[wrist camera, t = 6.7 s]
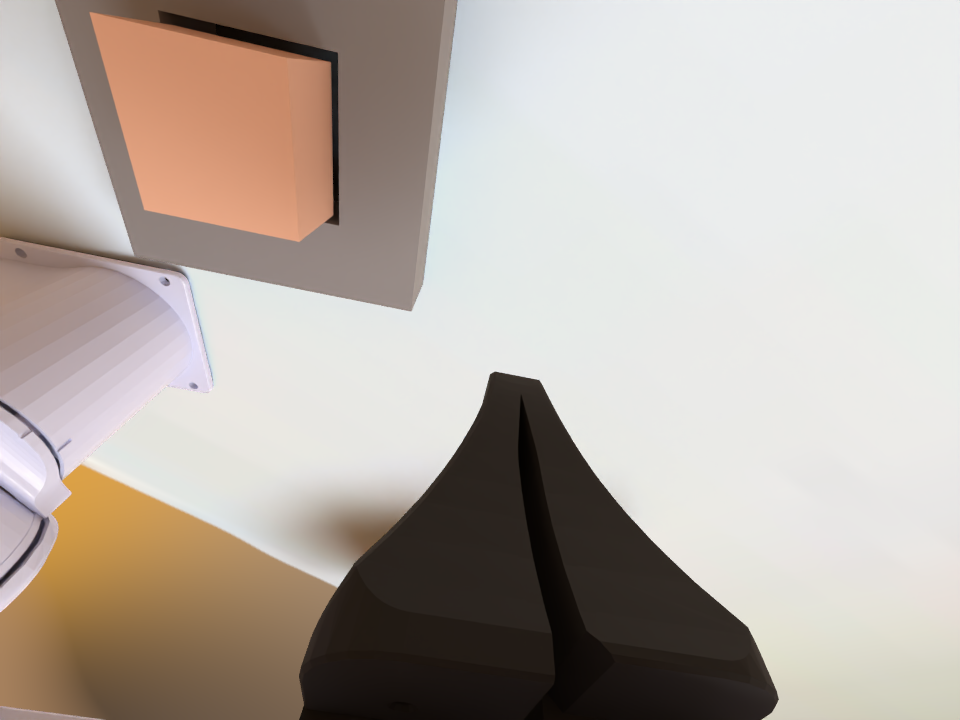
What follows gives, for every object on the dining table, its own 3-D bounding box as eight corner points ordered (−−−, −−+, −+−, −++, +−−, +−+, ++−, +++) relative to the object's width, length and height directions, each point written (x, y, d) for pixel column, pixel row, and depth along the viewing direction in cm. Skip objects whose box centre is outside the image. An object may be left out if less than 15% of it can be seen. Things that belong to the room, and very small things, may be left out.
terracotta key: (204, 188, 16) (144, 209, 13) (174, 25, 13) (89, 11, 10) (333, 215, 16) (299, 241, 13) (331, 62, 13) (287, 57, 11)
